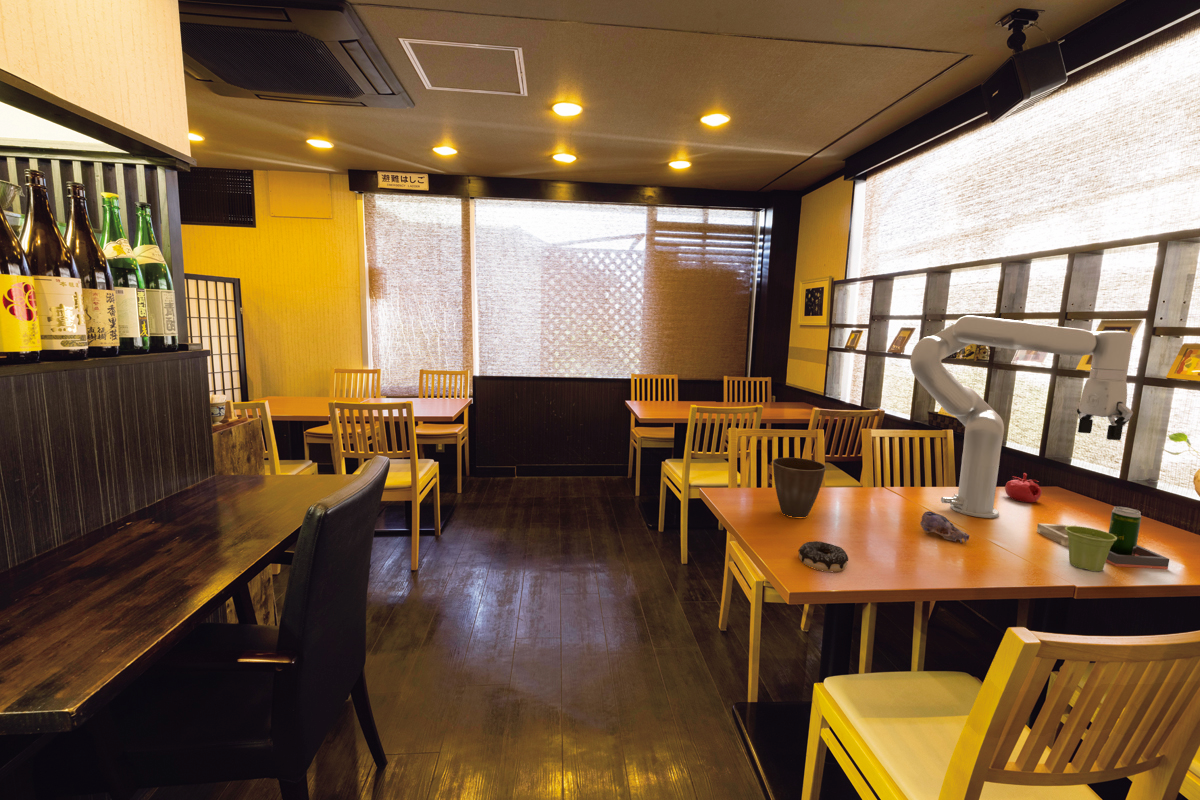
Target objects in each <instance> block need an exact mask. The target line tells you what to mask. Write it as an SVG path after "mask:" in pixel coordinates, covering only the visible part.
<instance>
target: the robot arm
mask: <svg viewBox="0 0 1200 800" xmlns="http://www.w3.org/2000/svg"><path fill="white" fill-rule="evenodd" d="M1133 338H1134V336H1133V334H1132V333H1131V332H1129V331H1125V330H1103V331H1101V330H1100V331H1092V330H1091V331H1090V330H1087V329H1083V328H1076V327H1075V328H1074V327H1073V328H1072V327H1064V326H1055V325H1047V324H1040V323H1032V322H1029V321H1024V320H1014V319H1006V318H1005V319H1004V318H998V317H997V318H996V317H989V316H987V317H986V316H979V315H964V316H961V317H959V318H958V319H957V320H956V321H955V322H954V323H953V324H951V325H949V326H947V327H946V328H945V329H941V330H940V331H939V332H937V333H935V334H933V335H930V336H926V337H922V338H921V339H919V341H917V343H916V344H915V345H914V347H913V350H912V351H911V355H910V359H909V360H910V364H909V365H910V368H911V371H912V374H913V376H914V377H915V378H916V380H917V381H918V383H920V385H921V386H922V387H923V388H924V389H925V391H927V393H928V394H929V395H930V397H932V398H933V399H934V400H935V401H936V402H937V403H938V404H939V405H940V406H941V408H942V409H943V410H944V412H946V413H947V414H949V415H951V416H954V417H955V418H956V419H957V420H958V421H959V422H960V423H961V424H962V425H963V427H965V428H964V439H963V450H962V456H961V466H960V474H959V475H960V476H959V482H958V492H957V494H955V493H954V494H953V496H951V497H948V496H942V497H941V498H940V502H941V503H942V504H949V505H950V509H952V510H953V511H955V512H956V513H957V512H958V513H960V514H962V515H966V516H971V517H976V518H985V519H986V518H987V519H993V518H994V519H995V518H998V517H999V516H1000V512H999V511H998V510H997V509H996V508H994V507H995V506H994V504H995V497H996V489H997V484H998V483H997V482H998V474H999V468H1000V467H999V466H1000V461H1001V460H1000V459H1001V452H1002V444H1003V439H1004V433H1005V425H1004V421H1003V418H1002V417H1001V415H999V414H998V413H997V412H996V411H995V410H994V409H993V407H991V406H990V405H989V404H988V403H987V402H986V401H985V400H984V399H983V398H982V397H981V396H980V395H979V394H978V393H977V392H976V391H975V390H974V389H973V388H971V387H969V386H967V385H963V384H962V383H961V382H960V381H959V380H958V379H956V377H955V376H954V375H953V374H952V373H951V372H950V370H948V369H947V368H946V367H945V366H944V365H943V363H942V360H943V359H946V358H948V357H949V356H951V355H953V354H955V353H957V352H960V350H963V349H965V348H967V347H968V346H970V345H972V344H973V345H979V346H988V347H994V348H1000V349H1001V348H1002V349H1008V350H1014V351H1030V352H1031V351H1034V352H1040V353H1047V354H1048V353H1049V354H1055V355H1062V356H1069V357H1075V358H1076V357H1078V358H1079V357H1083V356H1084V357H1085V356H1092V359H1091V363H1090V371H1089V375H1088V376H1089V378H1087V380H1086V382H1085V384H1084V386H1083V389H1082V391H1081V395H1080V396H1081V397H1080V400H1079V401H1077V402H1075V407H1076V413H1077V414H1078V415H1077V417H1078V419H1079V422H1078V428H1077V429H1078V430H1077V433H1079V434H1091V433H1092V429H1093V423H1094V420H1093V419H1092V418H1093V417H1094V416H1095V417H1100V418H1107V419H1108V421H1109V423H1110V424H1108V426H1107V433H1106V440H1110V441H1121V440H1122V439H1121V438H1122V434H1123V427H1125V426H1126V425H1127V423H1128V422H1129V421H1130V418H1132V416H1133V415H1134V412H1133V410H1132V409H1130V408H1129V407H1128V406H1127V399H1128V385H1127V378H1128V377H1127V376H1128V372H1129V371H1128V370H1129V365H1130V358H1131V352H1132V346H1133V340H1134V339H1133Z"/></svg>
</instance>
